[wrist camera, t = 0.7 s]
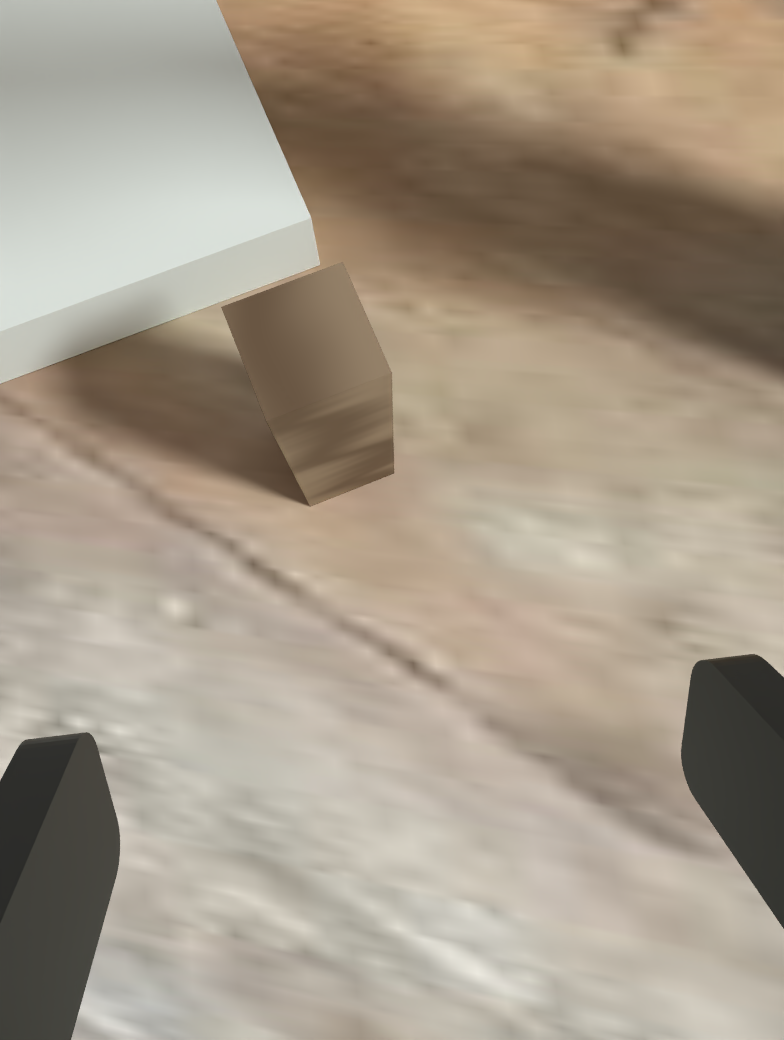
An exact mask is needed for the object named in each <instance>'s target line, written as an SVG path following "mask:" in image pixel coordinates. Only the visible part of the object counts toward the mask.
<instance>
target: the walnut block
mask: <svg viewBox="0 0 784 1040" xmlns="http://www.w3.org/2000/svg"><path fill="white" fill-rule="evenodd" d="M221 308H222V310H223V313H224V315H225V318H226V320H227V323H228V325H229V328H230V330H231V333H232V336H233V338H234V341H235V343H236V346H237V348H238V351H239V353H240V356H241V358H242V361H243V364H244V366H245V369H246V371H247V374H248V376H249V379H250V381H251V384H252V386H253V389H254V391H255V394H256V397H257V399H258V402H259V404H260V407H261V409H262V412H263V414H264V417H265V419H266V422H267V424H268V426H269V428H270V430H271V431H272V433H273V435H274V437H275V439H276V441H277V443H278V445H279V447H280V449H281V451H282V453H283V455H284V457H285V459H286V461H287V463H288V464H289V466H290V468H291V470H292V472H293V474H294V476H295V478H296V480H297V482H298V484H299V486H300V488H301V490H302V492H303V494H304V495H305V497H306V499H307V501H308V503H309V505H310V506H313V505H315V504H318V503H320V502H323V501H326V500H328V499H331V498H333V497H336V496H338V495H341V494H343V493H346V492H348V491H351V490H353V489H356V488H358V487H361V486H363V485H366V484H368V483H371V482H373V481H376V480H378V479H381V478H383V477H386V476H388V475H391V474H393V473H394V447H393V404H392V372H391V370H390V368H389V365H388V363H387V361H386V358H385V356H384V354H383V352H382V349H381V347H380V345H379V343H378V340H377V338H376V336H375V334H374V331H373V329H372V327H371V325H370V322H369V320H368V318H367V315H366V313H365V311H364V309H363V306H362V304H361V302H360V300H359V297H358V295H357V293H356V291H355V288H354V286H353V284H352V282H351V279H350V277H349V275H348V272H347V270H346V268H345V266H344V263H343V262H341V263H338V264H336V265H333V266H330V267H328V268H325V269H322V270H320V271H317V272H314V273H312V274H309V275H306V276H303V277H301V278H298V279H295V280H293V281H290V282H287V283H285V284H282V285H279V286H277V287H274V288H271V289H269V290H266V291H263V292H260V293H258V294H255V295H252V296H250V297H247V298H244V299H242V300H239V301H236V302H234V303H231V304H228V305H225V306H223V307H221Z"/></svg>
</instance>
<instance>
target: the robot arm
mask: <svg viewBox="0 0 784 1040" xmlns="http://www.w3.org/2000/svg"><path fill="white" fill-rule="evenodd" d="M681 759H682V766H683V771H684V775H685V778H686V781H687V784H688V786H689V789H690V791H691V793H692V795H693V796H694V798H695V799H696V801H697V802H698V804H699V805H700V807H701V808H702V810H703V811H704V813H705V814H706V816H707V817H708V818H709V820H710V821H711V823H712V824H713V826H714V827H715V829H716V830H717V832H718V833H719V835H720V836H721V838H722V839H723V840H724V842H725V843H726V845H727V846H728V848H729V849H730V851H731V852H732V854H733V855H734V857H735V858H736V860H737V861H738V862H739V864H740V865H741V867H742V868H743V870H744V871H745V873H746V874H747V876H748V877H749V879H750V880H751V881H752V883H753V884H754V886H755V887H756V889H757V890H758V892H759V893H760V895H761V896H762V898H763V899H764V901H765V902H766V903H767V905H768V906H769V908H770V909H771V911H772V912H773V914H774V915H775V917H776V918H777V920H778V921H779V923H780V924H781V925H782V927H783V928H784V677H783V676H782V675H781V674H779V673H778V672H777V671H776V670H775V669H774V668H773V667H772V666H771V665H770V664H769V663H768V662H767V661H766V660H764V659H763V658H762V657H760V656H758V655H755V654H749V655H741V656H733V657H725V658H716V659H708V660H701V661H698V662H697V663H696V664H695V666H694V667H693V670H692V674H691V680H690V688H689V695H688V702H687V710H686V717H685V725H684V732H683V740H682V748H681ZM119 856H120V834H119V826H118V821H117V817H116V813H115V809H114V806H113V802H112V799H111V795H110V791H109V788H108V784H107V781H106V777H105V773H104V770H103V766H102V762H101V759H100V755H99V752H98V748H97V745H96V742H95V740H94V738H93V736H92V735H91V734H90V733H87V732H86V733H78V734H69V735H61V736H53V737H44V738H36V739H28V740H25V741H23V742H22V743H21V744H20V745H19V747H18V749H17V750H16V752H15V754H14V756H13V758H12V760H11V762H10V763H9V765H8V767H7V769H6V771H5V773H4V775H3V777H2V779H1V780H0V1040H71V1037H72V1034H73V1030H74V1027H75V1023H76V1019H77V1016H78V1012H79V1009H80V1005H81V1001H82V998H83V994H84V991H85V987H86V983H87V980H88V976H89V973H90V969H91V965H92V962H93V958H94V955H95V951H96V947H97V944H98V940H99V937H100V933H101V929H102V926H103V922H104V919H105V915H106V911H107V908H108V904H109V901H110V897H111V893H112V890H113V886H114V883H115V879H116V875H117V871H118V865H119Z"/></svg>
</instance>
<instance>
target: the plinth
mask: <svg viewBox="0 0 784 1040" xmlns="http://www.w3.org/2000/svg"><path fill="white" fill-rule="evenodd" d="M319 265H320V262H319V256H318V251H317V246H316V240H315V235H314V230H313V225H312V219H311V216H310V214H309V212H308V209H307V207H306V205H305V203H304V200H303V198H302V196H301V193H300V191H299V189H298V187H297V184H296V182H295V180H294V177H293V175H292V173H291V171H290V168H289V166H288V164H287V161H286V159H285V157H284V155H283V152H282V150H281V148H280V145H279V143H278V141H277V139H276V136H275V134H274V132H273V129H272V127H271V125H270V123H269V120H268V118H267V116H266V113H265V111H264V109H263V107H262V104H261V102H260V100H259V97H258V95H257V93H256V91H255V88H254V86H253V84H252V81H251V79H250V77H249V75H248V72H247V70H246V68H245V65H244V63H243V61H242V59H241V56H240V54H239V52H238V49H237V47H236V45H235V43H234V40H233V38H232V36H231V33H230V31H229V29H228V27H227V24H226V22H225V20H224V17H223V15H222V13H221V11H220V8H219V6H218V4H217V1H216V0H0V384H1V383H3V382H6V381H9V380H11V379H14V378H17V377H20V376H22V375H25V374H28V373H30V372H33V371H36V370H38V369H41V368H44V367H46V366H49V365H52V364H55V363H57V362H60V361H63V360H65V359H68V358H71V357H73V356H76V355H79V354H82V353H84V352H87V351H90V350H92V349H95V348H98V347H100V346H103V345H106V344H108V343H111V342H114V341H117V340H119V339H122V338H125V337H127V336H130V335H133V334H135V333H138V332H141V331H144V330H146V329H149V328H152V327H154V326H157V325H160V324H162V323H165V322H168V321H170V320H173V319H176V318H179V317H181V316H184V315H187V314H189V313H192V312H195V311H197V310H200V309H203V308H205V307H208V306H211V305H214V304H216V303H219V302H222V301H224V300H227V299H230V298H232V297H235V296H238V295H241V294H243V293H246V292H249V291H251V290H254V289H257V288H259V287H262V286H265V285H267V284H270V283H273V282H276V281H278V280H281V279H284V278H286V277H289V276H292V275H294V274H297V273H300V272H303V271H305V270H308V269H311V268H313V267H316V266H319Z"/></svg>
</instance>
